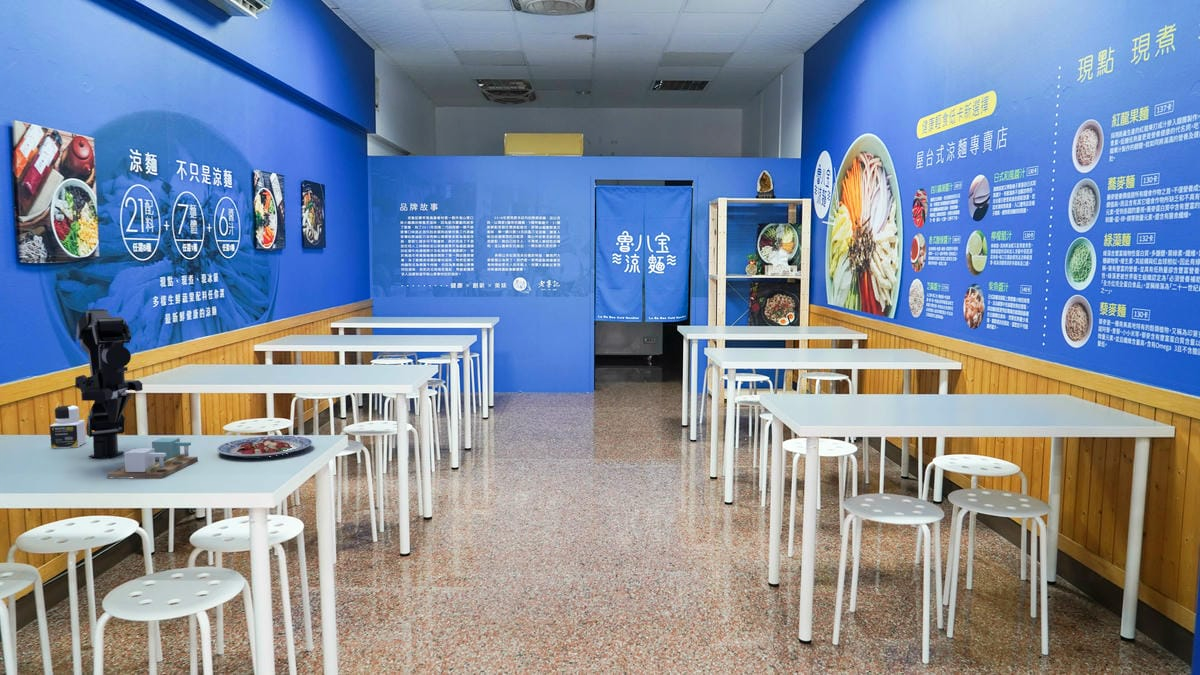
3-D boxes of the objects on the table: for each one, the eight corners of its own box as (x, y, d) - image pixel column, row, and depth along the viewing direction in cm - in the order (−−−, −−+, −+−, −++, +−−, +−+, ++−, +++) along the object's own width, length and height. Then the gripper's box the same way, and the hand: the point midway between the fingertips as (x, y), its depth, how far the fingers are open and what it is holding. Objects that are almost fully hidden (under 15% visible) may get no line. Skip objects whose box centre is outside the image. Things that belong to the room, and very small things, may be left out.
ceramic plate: (201, 453, 246) (200, 443, 246) (284, 439, 266) (283, 429, 265) (243, 467, 229) (243, 456, 229) (329, 451, 249) (329, 441, 249)
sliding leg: (162, 455, 235) (161, 438, 235) (194, 456, 235) (194, 438, 235) (152, 460, 230) (151, 441, 230) (185, 460, 230) (185, 441, 230)
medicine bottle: (50, 448, 251) (48, 408, 250) (60, 443, 258) (57, 404, 257) (77, 447, 253) (75, 407, 252) (86, 442, 260) (84, 403, 258)
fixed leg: (136, 467, 222) (135, 448, 222) (170, 467, 222) (169, 448, 222) (125, 472, 217) (124, 452, 217) (160, 472, 217) (159, 452, 217)
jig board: (147, 460, 236) (147, 452, 236) (197, 460, 236) (197, 453, 236) (107, 478, 217) (106, 469, 217) (161, 478, 217) (161, 469, 217)
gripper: (102, 360, 237) (105, 415, 238) (59, 368, 218) (62, 428, 220) (142, 360, 237) (144, 415, 238) (102, 368, 218) (105, 428, 220)
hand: (114, 422), depth 229 cm, fingers closed
